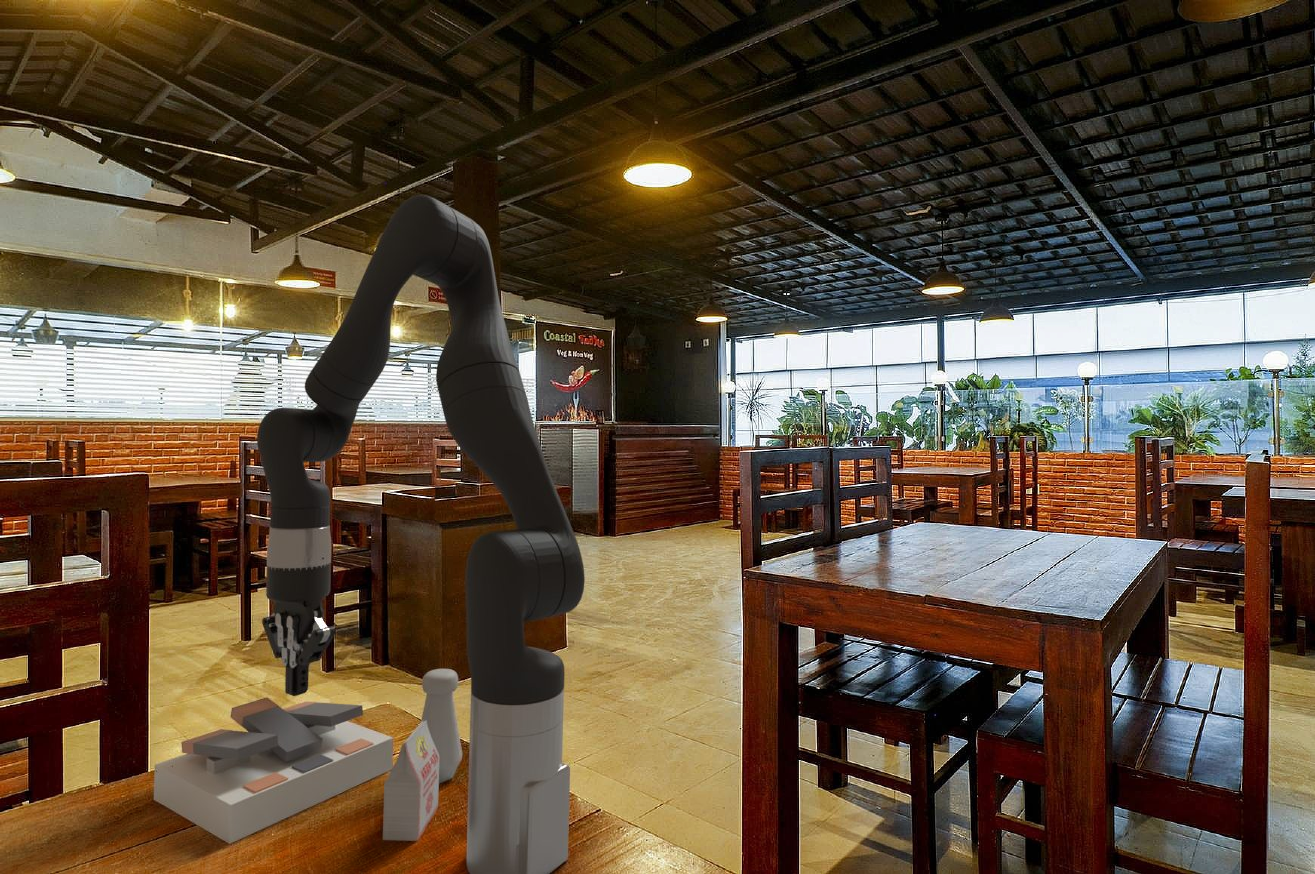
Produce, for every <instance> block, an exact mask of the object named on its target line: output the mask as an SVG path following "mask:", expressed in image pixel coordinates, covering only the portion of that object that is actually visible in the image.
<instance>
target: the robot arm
mask: <svg viewBox="0 0 1315 874" xmlns="http://www.w3.org/2000/svg"><path fill="white" fill-rule="evenodd" d="M489 242H490V241H489V239H488V237H487V235H486V233H485V231H484V229H483V228H482V226H480V225H479V224H477V222H475V221H474V220H473V219H472V218H470V217H469V216H467V215H465V214H463V213H461V212H459V210H456V209H455V208H452V207H451V206H449V205H447V204H446V203H443V202H442V201H440V200H438V199H436V198H435V197H432V196H429V195H426V194H416V195H413V196H411V197H408V198H407V199H406V200H404V201H403V202H402V203H400V205H399V206H398V208H397V209H396V210H395V211H394V213H393V214H392V215H391V217H390V218H389V220H388V222H387V224H386V226H385V227H384V230H383V232H382V233H381V236H380V239H379V240H378V243H377V245H376V247H375V249H374V251H373V254H372V255H371V258H370V260H369V263H368V264H367V266H366V269H365V271H364V274H363V276H362V278H361V280H360V282H359V285H358V288H357V289H356V293H355V294H354V297H353V299H352V301H351V303H350V305H349V308H348V311H347V312H346V315H345V316H344V319H343V321H342V322H341V324H340V326H339V328H338V330H337V331H336V333H335V334H334V336H333V338H332V340H331V341H330V342H329V344H328V345H327V346H326V347H325V348H326V349H324V351H323V352H322V354H321V356H320V357H319V358H318V360H317V361H316V362H315V364H314V366H313V367H312V368H311V370H310V372H309V374H308V375H307V377H306V379H305V382H304V390H305V394H306V395H307V397H308V398H309V399H310V400H311V401H312V402H313V403H315V404H316V406H315V407H314V408H313V409H311V408H310V409H308V408H294V407H279V408H274V409H272V410H270V411H268V412H267V414H265V416H263V418H262V420H261V422H260V424H259V425H258V429H257V435H256V440H257V441H256V443H257V450H258V454H259V458H260V462H261V465H262V470H263V472H264V476H265V479H266V484H267V487H268V490H269V493H270V508H269V509H270V515H269V516H270V517H269V519H270V521H269V527H270V528H269V534H268V540H267V548H266V549H267V550H266V551H267V552H266V553H267V554H266V583H265V584H266V587H265V588H266V589H265V590H266V591H265V594H266V599H268V600H270V601H272V602H274V605H273V607H272V608H273V609H272V610H273V613H272V614H271V615H270V616H266V617H263V618H261V619H262V620H261V625H262V627H263V630H264V632H265V635H266V637H267V640H268V643H269V645H270V648H271V651H272V653H273V655H274V658H275V659H277V660H278V659H281V663H282V665H283V666H284V667H285V673H284V674H285V675H284V676H285V679H284V681H285V682H284V684H285V685H284V686H285V687H284V688H285V690H284V691H285V694H286V695H289V696H293V697H297V696H300V695H303V694H306V693H307V691H308V690H309V673H310V672H309V668H310V664H312V663H315V662H319V661H321V659H322V657H323V655H324V653H325V652H326V651H327V649H328V647H329V645H330V644H331V642H332V640H333V638H334V637H335V635H336V631H337V630H336V627H335V626H334V625H331V626H327V624H326V623H325V621H324V620H323V619H324V616H325V613H324V612H325V611H324V609H323V608H324V607H323V599H324V598H325V597H327V596H329V594H330V592H331V577H332V576H331V573H332V572H331V571H332V570H331V569H332V537H331V526H330V523H331V491H330V488H329V486H328V485H327V484H326V483H324V482H322V481H318V480H314V479H310V478H309V476H308V474H307V470H306V468H305V464H304V463H321V462H327V461H330V460H331V459H332V458H334V457H336V456H337V455H338V454H339V453H340V452H341V451H342V450H343V449H344V447H345V446H346V444H347V443H348V441H349V437H350V434H351V431H352V428H353V425H354V422H355V419H356V417H357V413H358V408H359V405H360V404H361V403H362V401H363V400H364V399H365V397H366V396H367V395H368V393H369V392H370V390H371V389H372V387H373V386H374V384H375V383H376V382H377V380H378V379H379V377H380V375H381V374H382V373H383V371H384V368H386V364H387V362H388V359H389V354H390V349H391V348H390V347H391V326H392V325H391V324H392V313H393V309H394V306H395V305H394V304H395V302H396V299H397V298H398V295H399V293H400V292H401V290H402V288H403V287H404V286H405V284H407V282H408V281H409V280H410V279H411V277H413V276H415V277H418V278H420V279H422V280H424V281H426V282H429V283H432V284H434V285H435V286H437V287H438V288H439V289H440V290H441V293H442V294H443V296H444V298H445V301H446V304H447V308H448V312H449V316H450V322H451V329H450V333H449V335H448V338H447V339H446V341H445V344H444V346H443V348H442V350H441V352H440V354H439V355H440V357H439V359H438V362H437V365H436V373H435V375H436V376H435V379H436V380H435V381H436V387H437V392H438V396H439V400H440V403H441V408H442V412H443V416H444V420H445V424H446V427H447V429H448V431H449V433H450V435H451V437H452V439H453V441H455V443H456V444H457V445H458V447H459V448H460V449H461V451H462V452H463V453H465V455H466V456H467V457H468V458H469V460H470V461H472V462H473V464H474V465H475V466H476V467H477V468H478V469H479V470H480V471H481V472H482V473H483V474H484V475H485V476H486V477H487V478H488V480H490V482H491V483H492V484H493V485H494V486H495V487H496V489H497V490H498V491H499V493H500V494H501V495H502V497H503V499H504V501H505V503H506V504H507V506H508V508H509V511H510V513H511V516H512V518H513V521H514V524H515V529H504V530H496V531H489V532H486V533H483V534H481V535H479V537H477V538H476V540H474V542H473V544H472V546H471V547H470V550H469V552H468V556H467V561H466V565H465V567H466V568H465V577H464V579H465V581H464V582H465V583H464V585H465V586H464V587H465V613H466V617H465V618H466V619H465V621H466V653H467V654H466V655H467V656H466V657H467V661H468V667H469V672H470V681H471V682H470V685H471V686H470V711H469V712H470V715H469V716H470V718H469V719H470V720H469V743H468V744H469V753H468V755H469V756H468V787H467V788H468V789H467V790H468V791H467V792H468V793H467V822H466V823H467V827H466V828H467V831H466V868H467V872H468V873H469V874H550V873H552V872H553V871H554V870H556V869H557V868H559V866H561V865H562V864H563V863H564V862H566V861H567V860H569V829H570V828H569V825H570V791H571V790H570V789H571V788H570V787H571V785H570V784H571V783H570V782H571V767H570V766H569V765H568V764H566V763H563V747H564V746H563V742H564V741H563V740H564V739H563V738H564V736H563V735H564V702H565V701H564V700H565V699H564V698H565V676H566V675H565V673H566V672H565V664H564V661H563V660H562V658H561V657H560V656H559V655H557V654H556V653H553V652H552V651H549V650H546V649H542V648H537V647H533V646H528V645H527V646H526V640H525V629H524V625H525V624H524V623H526V622H527V623H528V622H531V621H532V622H533V621H537V620H538V621H539V620H542V619H543V620H544V619H547V618H553V617H557V616H561V615H564V614H567V613H570V612H572V611H573V610H575V609H576V608H577V606H578V605H579V603H580V602H581V601H582V598H583V594H584V590H585V583H586V582H585V578H586V577H585V568H584V567H585V566H584V562H583V557H582V553H581V549H580V546H579V543H578V540H577V538H576V534H575V532H574V530H573V527H572V524H571V522H570V520H569V517H568V515H567V513H566V510H565V508H564V505H563V502H562V500H561V497H560V495H559V493H558V490H557V488H556V486H555V483H554V481H553V478H552V475H551V472H550V471H549V467H548V464H547V461H546V459H545V454H544V452H543V449H542V446H541V443H540V440H539V436H538V434H537V433H538V432H537V430H536V427H535V424H534V421H533V417H532V412H531V408H530V404H529V400H528V396H527V393H526V390H525V386H524V383H523V379H522V376H521V373H520V369H519V366H518V364H517V360H516V358H515V354H514V351H513V348H512V344H511V340H510V337H509V333H508V329H507V325H506V321H505V318H504V315H503V311H502V307H501V302H500V296H499V292H498V291H499V290H498V285H497V280H496V279H497V278H496V272H495V268H494V267H495V266H494V260H493V256H492V255H493V254H492V251H491V246H490V243H489Z"/></svg>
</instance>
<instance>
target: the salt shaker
mask: <svg viewBox="0 0 1315 874" xmlns="http://www.w3.org/2000/svg"><path fill="white" fill-rule="evenodd" d="M421 685H422V686H421V687H422V690H423V692H424V694H426V695H425V696H426V697H425V701H424V706H423V711H422V714H421V715H422V716H421V720H420V723H421V722H422V721H423V722H424V721H425V720H427V726H428V729H429V732H430V735H431V738H432V740H433V742H434V744H435V747H436V749H437V751H438V754H439V784H442V783H445V782H447V781H449V780H451V779H453V778H454V776H455V774H456V771H457V769H458V767H459V766H460V763H461V761H462V760H463V749H462V744H461V739H460V738H461V737H460V732H459V726H458V722H457V721H458V719H457V712H456V706H455V700H454V693H453V692H456V690H458V687H459V675H458V674H457V672H456V671H455V670H453V669H450V668H436V669H432V670H429V671H428V672H426V673H425V674H424V676H422V681H421Z"/></svg>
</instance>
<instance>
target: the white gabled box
mask: <svg viewBox="0 0 1315 874" xmlns="http://www.w3.org/2000/svg"><path fill="white" fill-rule="evenodd" d="M393 764H394V765H393V768H392V770H390V772H389V774H388V776H387V778H386V779H385V781H384V783H383V784H384V785H383V787H384V789H383V791H384V792H383V817H382V818H383V820H382V821H383V824H382V840H383V841H407V842H409V841H411V842H413V841H414V842H417V841H419V840H420V838H421V836H423V833H424V831H425V830H426V828H427V827H428V825H429V823H430V822H431V820H432V819H433V817H434V815H435V814H436V812H437V810H438V809H439V792H440V791H439V785H440V783H439V754H438V751H437V749H436V747H435V744H434V742H433V740H432V738H431V735H430V732H429V729H428V726H427V720H425V721H424V722H423V721H422V722H421V721H420V723H419V724H418V725H417V726H416V728H415V729H414V730H413V731H412V732H411V734H410V735H409V736H408V737H407V739H405V741H404V742H403V743H402V744H401V747H400V751H399V753H398V756H397V758H396V761H395V762H394V763H393Z"/></svg>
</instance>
